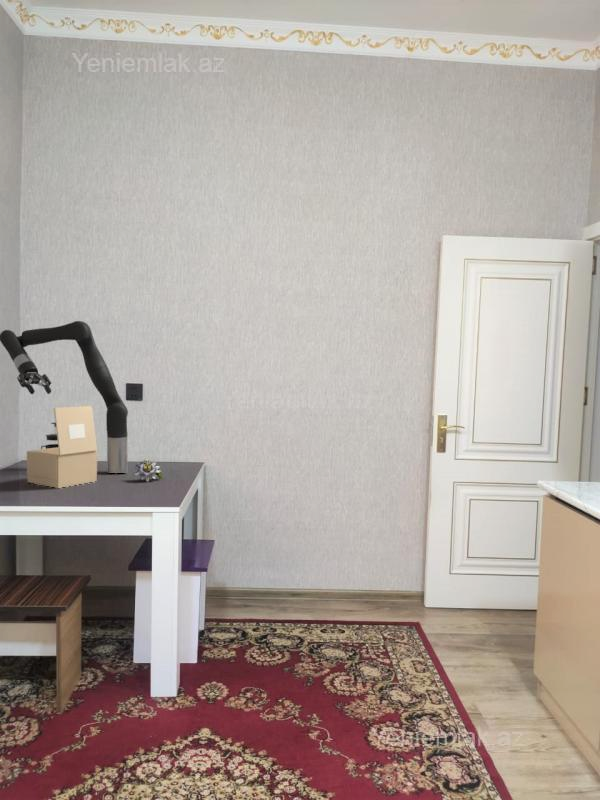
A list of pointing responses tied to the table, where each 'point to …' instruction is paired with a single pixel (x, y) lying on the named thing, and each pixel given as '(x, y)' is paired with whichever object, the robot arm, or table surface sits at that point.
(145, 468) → the passion flower
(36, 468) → the carton
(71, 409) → the carton flap
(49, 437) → the french press
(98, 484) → the table surface
